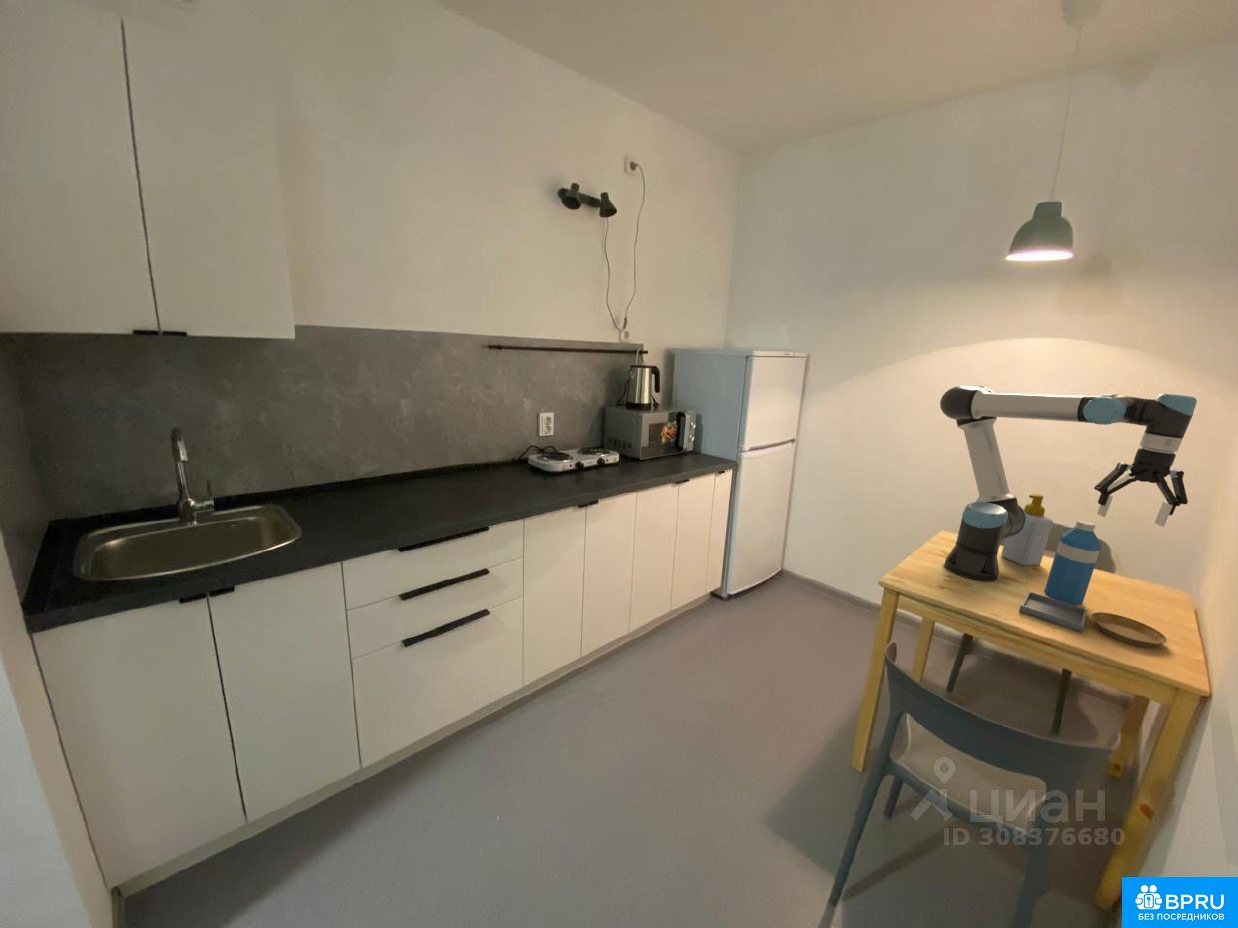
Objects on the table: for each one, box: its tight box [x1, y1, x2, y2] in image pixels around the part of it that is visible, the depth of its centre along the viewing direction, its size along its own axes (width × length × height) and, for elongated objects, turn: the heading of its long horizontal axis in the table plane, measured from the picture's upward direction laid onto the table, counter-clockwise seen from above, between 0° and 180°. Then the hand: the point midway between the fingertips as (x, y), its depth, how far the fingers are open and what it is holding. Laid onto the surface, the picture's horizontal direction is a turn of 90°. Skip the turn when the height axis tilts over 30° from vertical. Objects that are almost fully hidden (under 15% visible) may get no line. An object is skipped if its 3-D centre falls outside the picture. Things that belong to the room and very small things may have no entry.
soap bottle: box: [1001, 493, 1054, 566], centre depth 178 cm, size 9×9×25 cm
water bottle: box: [1043, 519, 1102, 606], centre depth 151 cm, size 9×9×25 cm
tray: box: [1018, 590, 1088, 634], centre depth 144 cm, size 14×14×2 cm
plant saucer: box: [1090, 611, 1168, 648], centre depth 135 cm, size 15×15×3 cm
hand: (1129, 520), depth 145 cm, fingers open, 13 cm apart
